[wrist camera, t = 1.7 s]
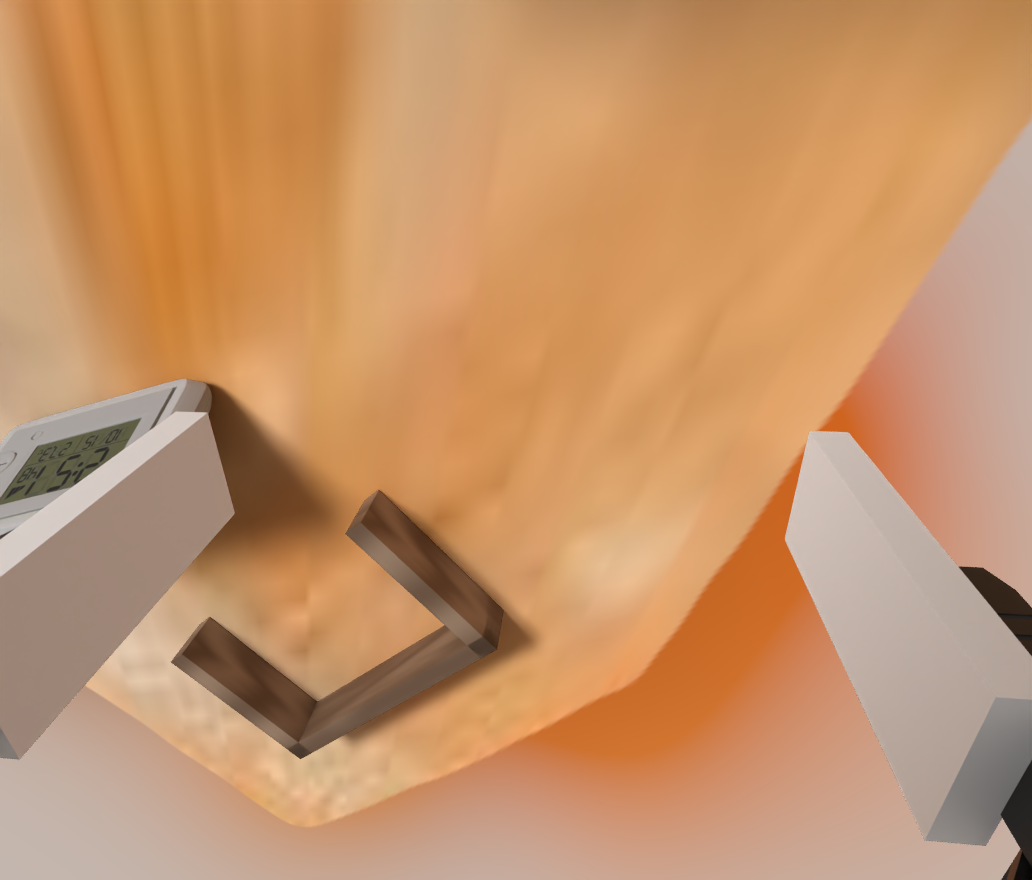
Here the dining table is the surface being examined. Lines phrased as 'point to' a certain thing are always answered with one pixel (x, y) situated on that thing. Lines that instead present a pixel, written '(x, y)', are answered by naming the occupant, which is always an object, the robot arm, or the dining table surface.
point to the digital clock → (82, 444)
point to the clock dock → (394, 681)
